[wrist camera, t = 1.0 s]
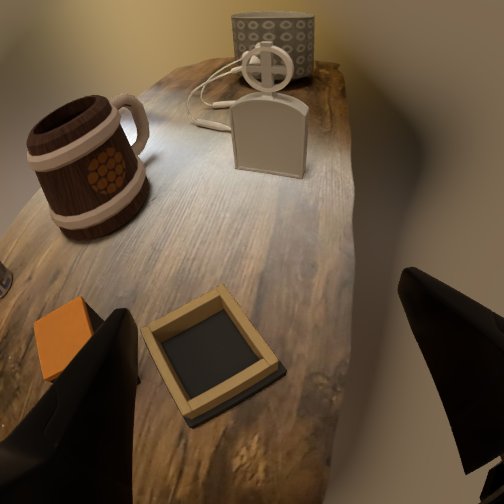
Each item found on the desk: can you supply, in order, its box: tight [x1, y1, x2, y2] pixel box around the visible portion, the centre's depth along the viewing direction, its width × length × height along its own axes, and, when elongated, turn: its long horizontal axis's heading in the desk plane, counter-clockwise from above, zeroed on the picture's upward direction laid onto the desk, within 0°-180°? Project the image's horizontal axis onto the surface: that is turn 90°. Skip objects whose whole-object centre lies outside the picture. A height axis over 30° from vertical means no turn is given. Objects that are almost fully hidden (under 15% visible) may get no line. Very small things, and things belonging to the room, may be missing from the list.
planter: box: [231, 11, 314, 84], centre depth 58 cm, size 19×19×18 cm
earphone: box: [187, 43, 261, 131], centre depth 48 cm, size 14×17×18 cm
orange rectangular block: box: [34, 296, 141, 384], centre depth 20 cm, size 5×5×8 cm
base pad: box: [140, 284, 287, 429], centre depth 23 cm, size 9×9×4 cm
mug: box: [27, 93, 149, 240], centre depth 33 cm, size 20×15×15 cm
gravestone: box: [229, 41, 309, 179], centre depth 33 cm, size 3×9×18 cm, turn 72°
